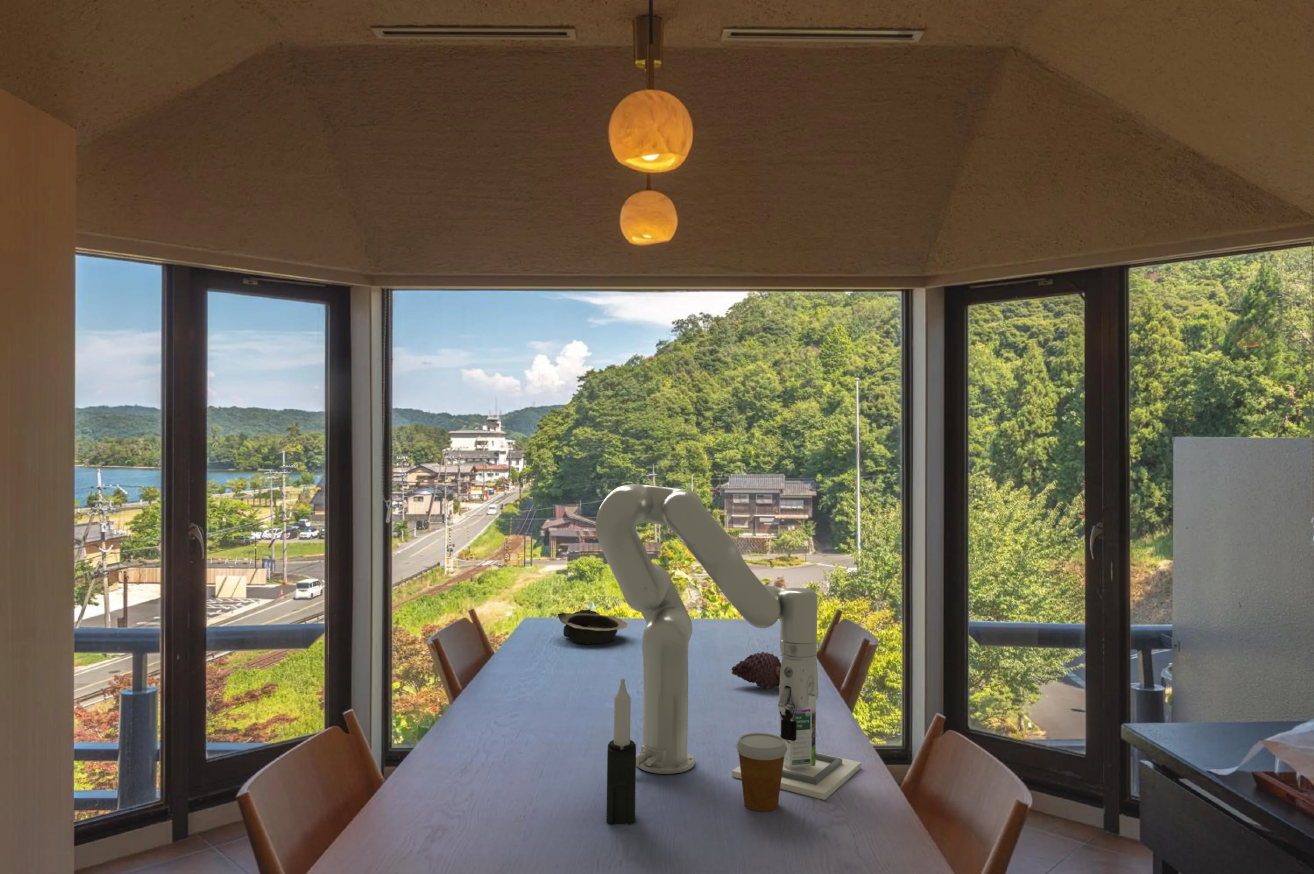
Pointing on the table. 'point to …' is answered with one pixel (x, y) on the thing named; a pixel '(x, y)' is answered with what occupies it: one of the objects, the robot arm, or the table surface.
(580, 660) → the table surface
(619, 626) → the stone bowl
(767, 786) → the disposable coffee cup
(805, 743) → the syrup box
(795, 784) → the baseplate
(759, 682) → the pine cone
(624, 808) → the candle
